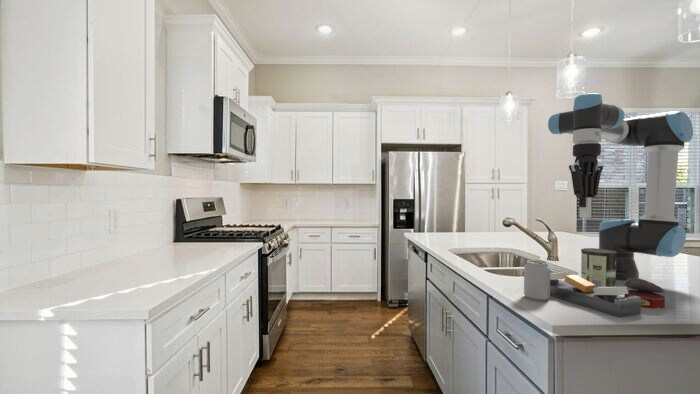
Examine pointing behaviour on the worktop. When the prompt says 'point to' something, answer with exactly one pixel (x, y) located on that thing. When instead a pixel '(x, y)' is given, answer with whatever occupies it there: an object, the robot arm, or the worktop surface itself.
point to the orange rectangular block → (579, 283)
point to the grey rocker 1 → (557, 275)
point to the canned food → (645, 292)
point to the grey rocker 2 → (610, 290)
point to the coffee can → (599, 266)
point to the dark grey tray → (596, 299)
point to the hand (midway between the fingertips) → (585, 217)
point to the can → (537, 280)
